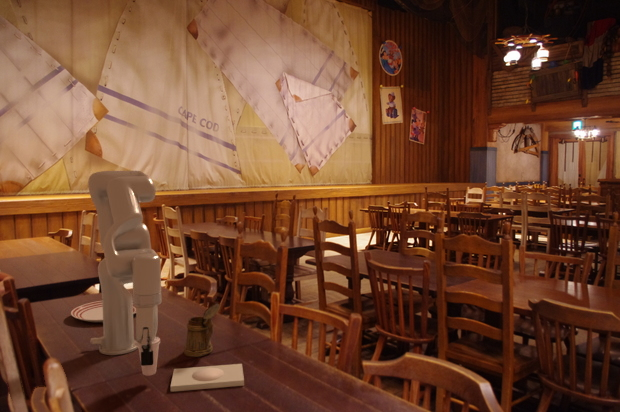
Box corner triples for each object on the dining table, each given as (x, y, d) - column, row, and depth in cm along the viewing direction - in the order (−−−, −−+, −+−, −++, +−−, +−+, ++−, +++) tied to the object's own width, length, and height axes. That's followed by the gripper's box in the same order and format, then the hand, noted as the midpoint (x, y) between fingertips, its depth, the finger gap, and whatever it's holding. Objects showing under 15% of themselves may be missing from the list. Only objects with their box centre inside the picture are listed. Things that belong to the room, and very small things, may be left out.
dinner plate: (156, 312, 214) (156, 304, 214) (99, 331, 191) (99, 322, 190) (114, 303, 228) (114, 296, 228) (56, 319, 205) (56, 311, 205)
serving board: (170, 391, 139) (170, 386, 139) (174, 373, 151) (174, 368, 150) (244, 385, 142) (243, 379, 142) (242, 368, 154) (241, 363, 154)
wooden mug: (207, 362, 159) (206, 306, 158) (178, 353, 167) (177, 299, 165) (227, 353, 166) (226, 299, 165) (199, 345, 174) (197, 293, 173)
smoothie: (154, 378, 140) (152, 330, 139) (132, 376, 142) (131, 328, 140) (165, 368, 147) (163, 322, 145) (144, 366, 148) (143, 320, 146)
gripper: (138, 290, 150) (139, 348, 152) (128, 308, 133) (130, 374, 135) (164, 289, 151) (165, 347, 153) (157, 307, 134) (159, 372, 136)
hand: (148, 359), depth 144 cm, fingers closed on smoothie, 6 cm apart
